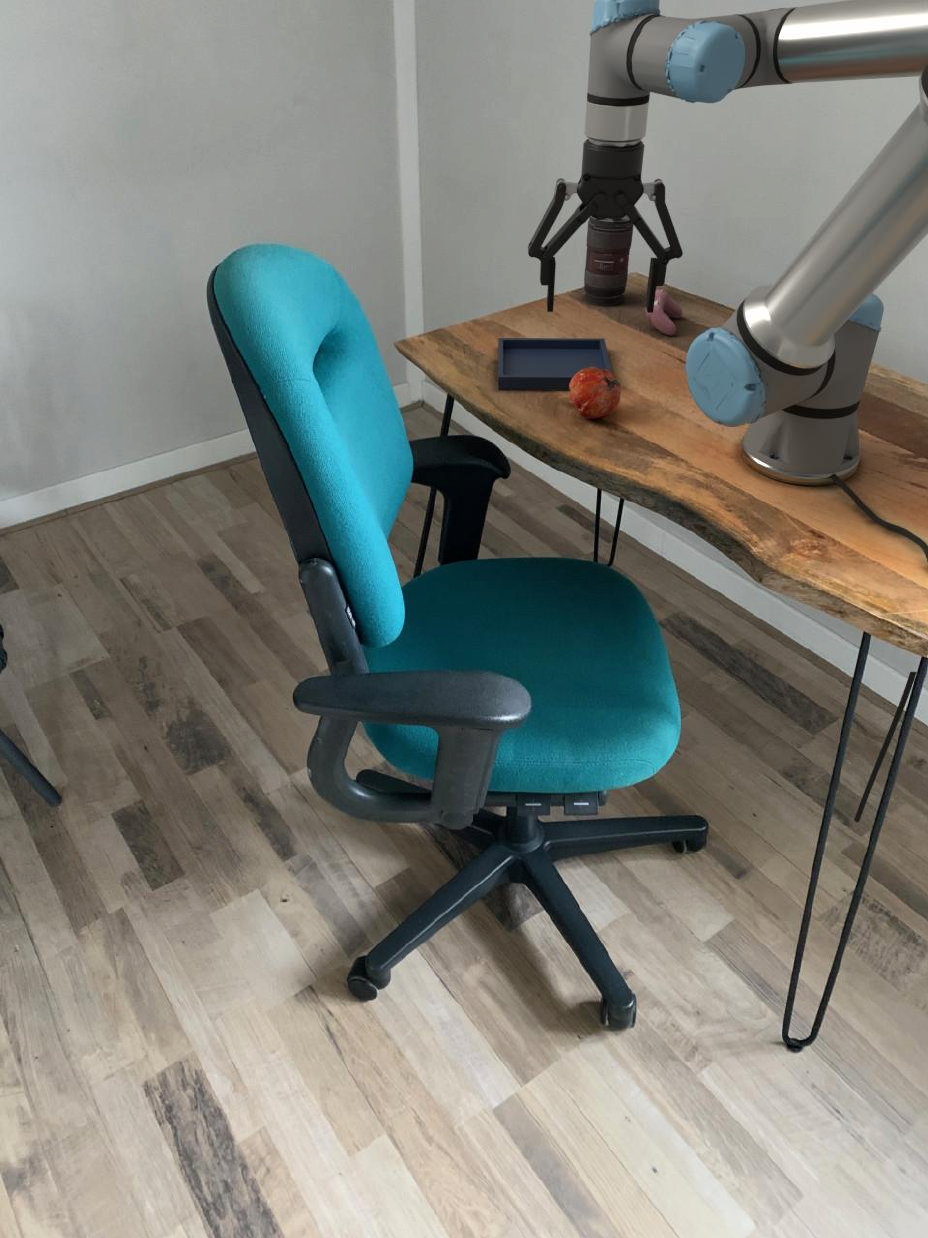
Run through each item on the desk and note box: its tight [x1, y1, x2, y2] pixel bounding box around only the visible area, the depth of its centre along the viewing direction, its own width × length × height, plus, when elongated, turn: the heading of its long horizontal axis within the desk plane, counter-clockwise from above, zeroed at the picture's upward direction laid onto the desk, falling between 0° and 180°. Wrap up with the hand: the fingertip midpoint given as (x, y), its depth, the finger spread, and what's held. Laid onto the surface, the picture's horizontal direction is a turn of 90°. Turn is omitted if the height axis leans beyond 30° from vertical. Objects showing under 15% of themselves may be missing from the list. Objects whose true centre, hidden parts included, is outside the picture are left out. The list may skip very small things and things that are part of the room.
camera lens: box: [583, 215, 634, 307], centre depth 173 cm, size 8×8×15 cm
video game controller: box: [644, 288, 683, 337], centre depth 166 cm, size 10×5×7 cm, turn 162°
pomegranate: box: [568, 367, 621, 420], centre depth 138 cm, size 7×7×10 cm
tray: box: [497, 337, 613, 391], centre depth 152 cm, size 16×18×2 cm
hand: (599, 308), depth 131 cm, fingers open, 13 cm apart
